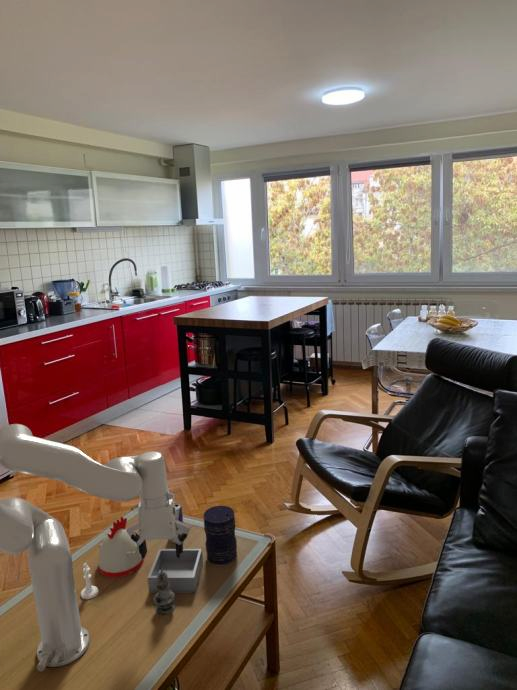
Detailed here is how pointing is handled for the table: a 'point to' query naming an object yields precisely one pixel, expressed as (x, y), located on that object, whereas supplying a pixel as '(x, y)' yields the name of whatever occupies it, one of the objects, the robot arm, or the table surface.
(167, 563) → the box
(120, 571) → the kitchen timer
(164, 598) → the grey pawn
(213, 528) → the storage jar
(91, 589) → the chess piece
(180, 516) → the energy drink
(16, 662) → the table surface
